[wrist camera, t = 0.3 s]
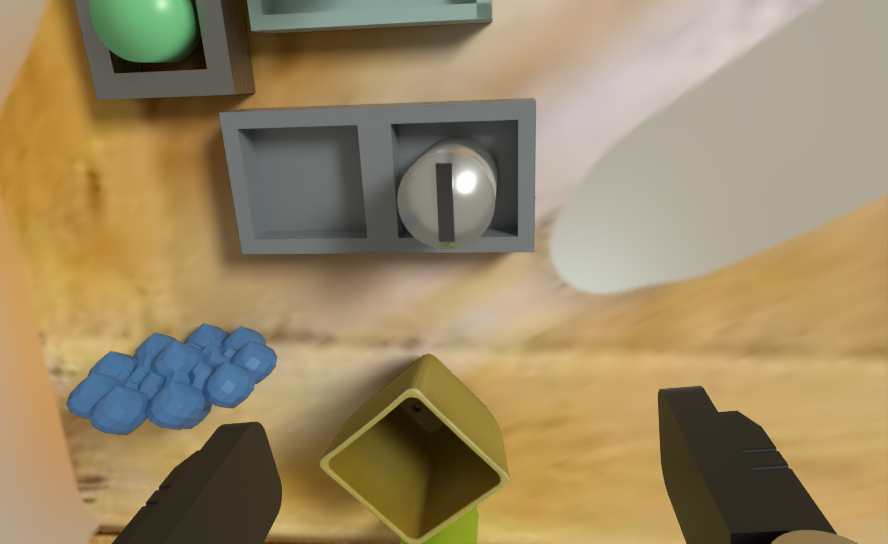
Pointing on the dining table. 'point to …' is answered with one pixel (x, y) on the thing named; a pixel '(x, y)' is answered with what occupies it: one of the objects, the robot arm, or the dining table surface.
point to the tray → (362, 14)
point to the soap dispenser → (457, 531)
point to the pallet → (368, 173)
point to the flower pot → (420, 452)
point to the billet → (449, 193)
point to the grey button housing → (221, 77)
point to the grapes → (173, 380)
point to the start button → (147, 28)
